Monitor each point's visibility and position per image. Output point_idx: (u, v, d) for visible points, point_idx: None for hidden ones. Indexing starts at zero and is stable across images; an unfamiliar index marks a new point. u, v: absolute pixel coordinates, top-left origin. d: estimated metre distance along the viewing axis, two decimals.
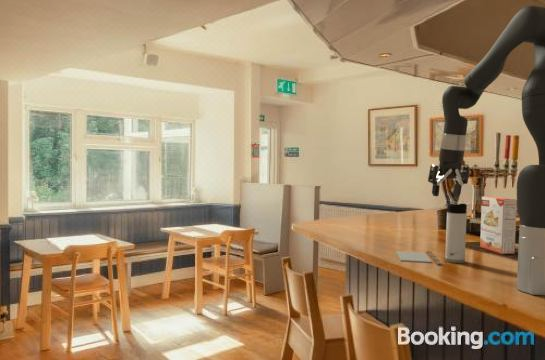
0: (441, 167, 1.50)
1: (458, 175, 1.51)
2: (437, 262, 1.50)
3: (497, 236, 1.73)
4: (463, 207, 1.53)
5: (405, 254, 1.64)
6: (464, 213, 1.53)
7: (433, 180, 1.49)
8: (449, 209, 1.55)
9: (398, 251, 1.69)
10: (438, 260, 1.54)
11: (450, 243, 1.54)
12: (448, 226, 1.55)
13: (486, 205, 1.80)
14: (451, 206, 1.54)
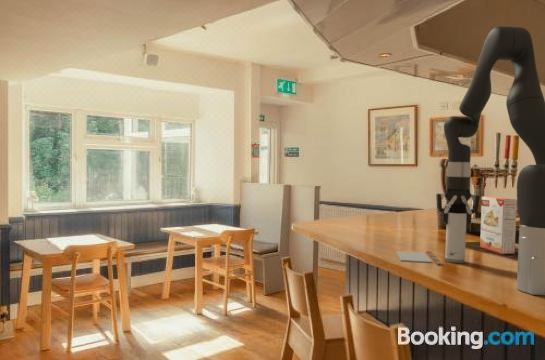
0: (445, 194, 1.55)
1: (465, 202, 1.53)
2: (437, 262, 1.50)
3: (497, 236, 1.73)
4: (463, 207, 1.53)
5: (405, 254, 1.64)
6: (464, 213, 1.53)
7: (439, 208, 1.55)
8: (449, 209, 1.55)
9: (398, 251, 1.69)
10: (438, 260, 1.54)
11: (450, 243, 1.54)
12: (448, 226, 1.55)
13: (486, 205, 1.80)
14: (451, 206, 1.54)
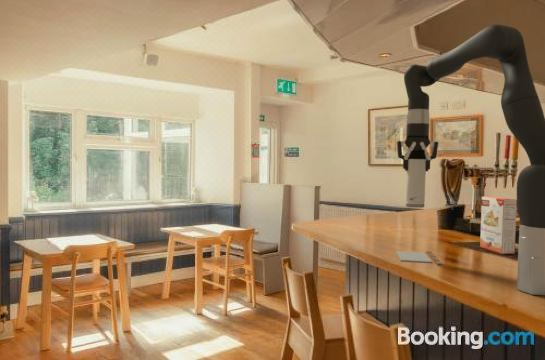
0: (405, 141, 1.60)
1: (424, 148, 1.58)
2: (437, 262, 1.50)
3: (497, 236, 1.73)
4: (422, 153, 1.57)
5: (405, 254, 1.64)
6: (423, 159, 1.57)
7: (399, 155, 1.60)
8: (409, 155, 1.59)
9: (398, 251, 1.69)
10: (438, 260, 1.54)
11: (409, 189, 1.59)
12: (408, 172, 1.59)
13: (486, 205, 1.80)
14: (411, 152, 1.58)
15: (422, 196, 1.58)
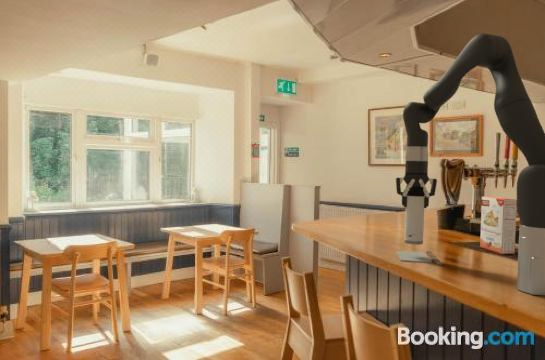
0: (404, 178, 1.60)
1: (423, 186, 1.58)
2: (437, 262, 1.50)
3: (497, 236, 1.73)
4: (421, 190, 1.58)
5: (405, 254, 1.64)
6: (422, 196, 1.58)
7: (398, 191, 1.60)
8: (408, 192, 1.60)
9: (398, 251, 1.69)
10: (438, 260, 1.54)
11: (408, 226, 1.59)
12: (407, 209, 1.60)
13: (486, 205, 1.80)
14: (409, 189, 1.59)
15: (421, 233, 1.58)
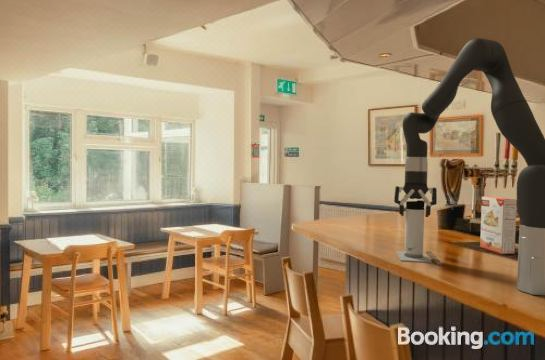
0: (403, 188, 1.60)
1: (423, 195, 1.58)
2: (437, 262, 1.50)
3: (497, 236, 1.73)
4: (420, 203, 1.58)
5: None
6: (421, 209, 1.58)
7: (395, 200, 1.60)
8: (407, 205, 1.60)
9: (398, 251, 1.69)
10: (438, 260, 1.54)
11: (408, 239, 1.59)
12: (406, 222, 1.60)
13: (486, 205, 1.80)
14: (409, 203, 1.59)
15: (420, 246, 1.58)
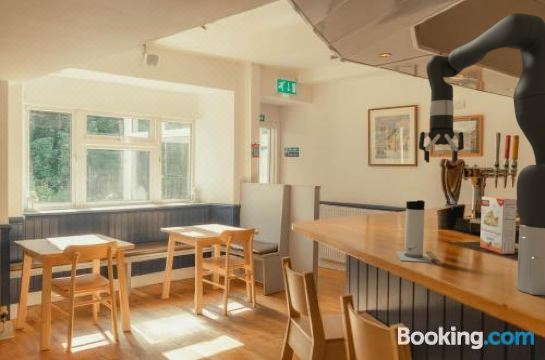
0: (429, 133, 1.55)
1: (449, 140, 1.54)
2: (437, 262, 1.50)
3: (497, 236, 1.73)
4: (421, 203, 1.58)
5: None
6: (422, 209, 1.58)
7: (420, 146, 1.56)
8: (407, 205, 1.60)
9: (398, 251, 1.69)
10: (438, 260, 1.54)
11: (408, 239, 1.59)
12: (407, 222, 1.60)
13: (486, 205, 1.80)
14: (409, 203, 1.59)
15: (420, 246, 1.58)
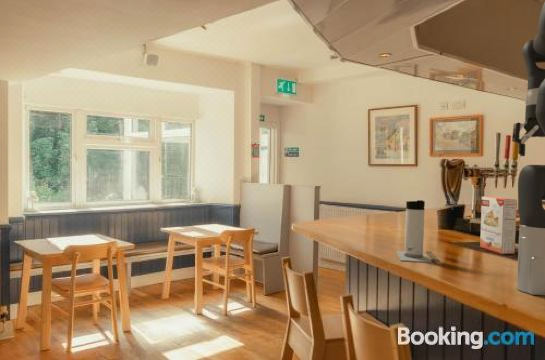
0: (525, 124, 1.42)
1: None
2: (437, 262, 1.50)
3: (497, 236, 1.73)
4: (421, 203, 1.58)
5: None
6: (422, 209, 1.58)
7: (515, 138, 1.42)
8: (407, 205, 1.60)
9: (398, 251, 1.69)
10: (438, 260, 1.54)
11: (408, 239, 1.59)
12: (407, 222, 1.60)
13: (486, 205, 1.80)
14: (409, 203, 1.59)
15: (420, 246, 1.58)
